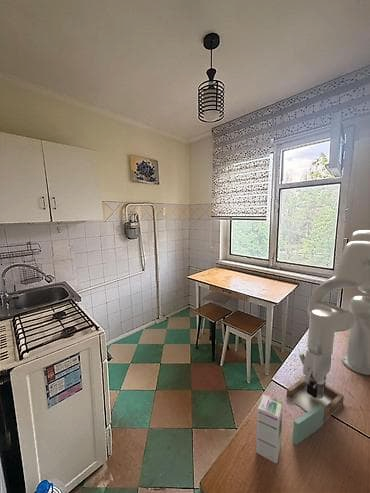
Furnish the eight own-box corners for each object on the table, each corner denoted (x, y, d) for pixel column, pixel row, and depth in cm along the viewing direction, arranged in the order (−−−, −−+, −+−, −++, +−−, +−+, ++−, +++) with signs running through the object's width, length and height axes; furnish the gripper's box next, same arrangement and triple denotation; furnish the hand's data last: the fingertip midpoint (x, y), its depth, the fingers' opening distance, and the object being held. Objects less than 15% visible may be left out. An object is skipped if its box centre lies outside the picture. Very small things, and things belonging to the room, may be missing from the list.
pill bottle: (325, 400, 75) (327, 378, 74) (310, 398, 76) (312, 376, 75) (320, 389, 80) (322, 369, 79) (306, 387, 81) (307, 367, 80)
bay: (307, 380, 87) (308, 374, 87) (342, 403, 77) (343, 395, 76) (286, 396, 80) (286, 389, 79) (321, 423, 69) (322, 415, 69)
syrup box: (277, 465, 58) (280, 418, 56) (255, 452, 61) (257, 407, 59) (280, 445, 63) (283, 402, 61) (259, 435, 66) (262, 393, 64)
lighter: (317, 377, 89) (319, 359, 88) (316, 379, 88) (318, 361, 86) (298, 368, 94) (300, 351, 93) (297, 370, 92) (298, 353, 91)
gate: (318, 422, 69) (320, 403, 68) (322, 426, 68) (324, 406, 67) (292, 441, 64) (294, 420, 63) (296, 445, 63) (297, 424, 62)
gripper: (321, 333, 83) (317, 375, 85) (295, 348, 74) (291, 394, 77) (343, 343, 76) (338, 388, 79) (318, 360, 68) (313, 411, 70)
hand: (315, 391), depth 78 cm, fingers closed on pill bottle, 4 cm apart
